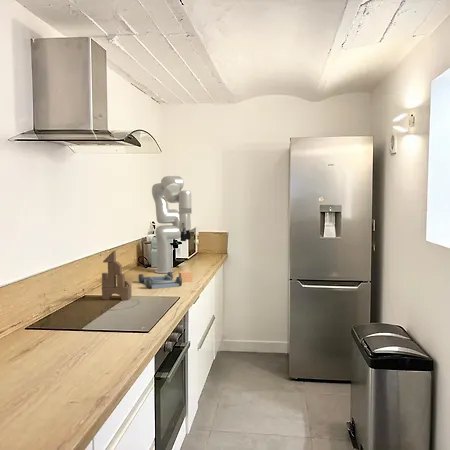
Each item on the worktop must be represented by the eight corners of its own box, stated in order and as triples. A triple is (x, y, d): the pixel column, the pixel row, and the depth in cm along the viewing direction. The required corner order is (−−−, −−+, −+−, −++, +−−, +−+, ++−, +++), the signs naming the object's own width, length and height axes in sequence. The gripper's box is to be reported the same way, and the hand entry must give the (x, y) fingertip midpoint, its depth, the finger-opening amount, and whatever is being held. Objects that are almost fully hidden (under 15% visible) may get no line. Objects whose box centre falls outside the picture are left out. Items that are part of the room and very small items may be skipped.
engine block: (178, 281, 286) (178, 271, 285) (189, 280, 289) (189, 270, 288) (181, 283, 281) (181, 273, 281) (192, 282, 284) (192, 272, 284)
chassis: (138, 281, 285) (138, 273, 285) (170, 279, 293) (170, 271, 293) (148, 289, 263) (148, 280, 263) (182, 286, 271) (182, 277, 271)
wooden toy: (132, 297, 244) (131, 249, 242) (128, 300, 237) (127, 251, 235) (103, 296, 246) (102, 249, 244) (98, 299, 239) (97, 250, 237)
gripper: (183, 211, 287) (183, 239, 288) (174, 212, 270) (175, 241, 271) (195, 211, 285) (195, 239, 286) (187, 211, 269) (187, 241, 270)
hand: (185, 240), depth 279 cm, fingers open, 9 cm apart
